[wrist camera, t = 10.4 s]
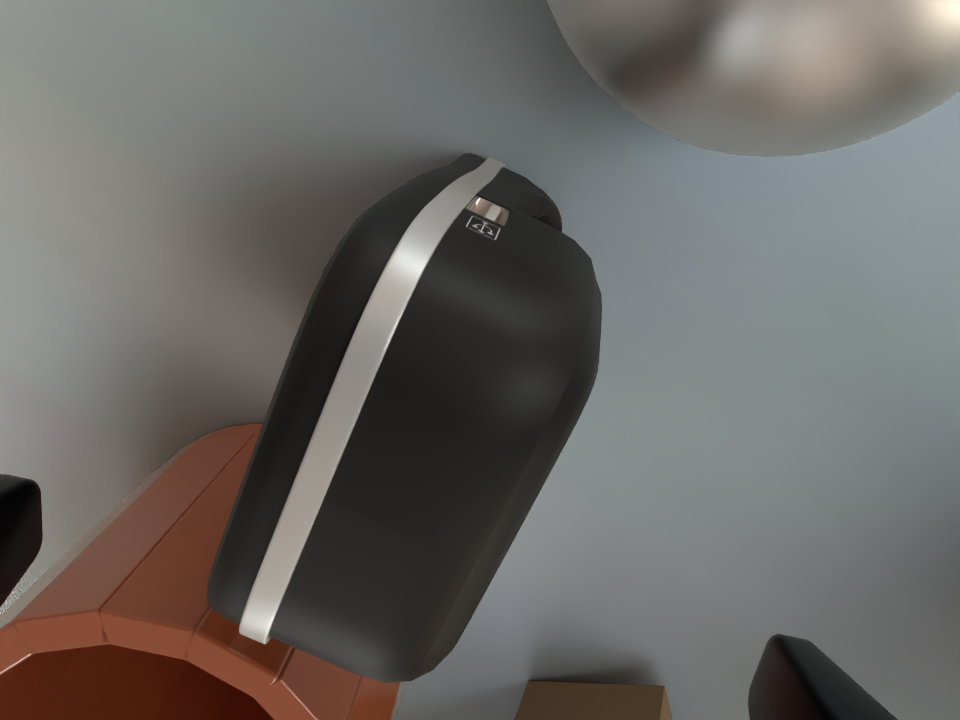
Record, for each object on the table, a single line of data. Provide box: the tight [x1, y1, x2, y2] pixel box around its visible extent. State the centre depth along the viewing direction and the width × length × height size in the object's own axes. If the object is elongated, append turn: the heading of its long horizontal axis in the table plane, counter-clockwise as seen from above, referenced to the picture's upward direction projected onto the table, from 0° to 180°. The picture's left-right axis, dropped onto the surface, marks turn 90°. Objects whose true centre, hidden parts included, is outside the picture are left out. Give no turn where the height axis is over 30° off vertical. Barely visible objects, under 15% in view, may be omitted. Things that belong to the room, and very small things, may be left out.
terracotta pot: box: [0, 423, 405, 720], centre depth 19 cm, size 9×9×8 cm
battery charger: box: [207, 153, 602, 683], centre depth 15 cm, size 7×4×11 cm, turn 156°
